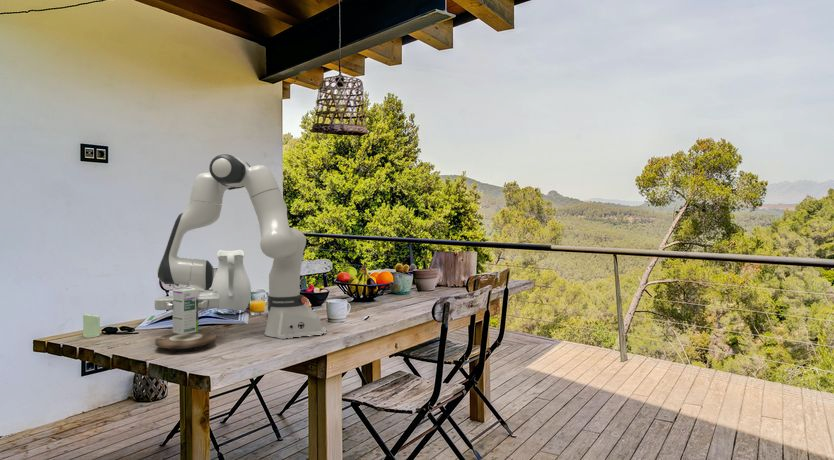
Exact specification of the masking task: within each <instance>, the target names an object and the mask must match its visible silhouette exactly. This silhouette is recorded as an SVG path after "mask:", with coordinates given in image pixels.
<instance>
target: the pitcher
mask: <svg viewBox="0 0 834 460" xmlns="http://www.w3.org/2000/svg"><path fill="white" fill-rule="evenodd" d="M216 256H217V259H218V267H217V270H216V272H215V273H214V276H213V283H212V286H211V288H210V290H217V293H218V294H219V296H220V307H219V308H217V309H233V310H242V311H245V312H246V310H247V308H248V306H249V304H250V301H251V297H252V287H251V282H250V278H249V276H248V274H247V271H246V269H245V265H244V257H245V252H244V251H243V250H242V249H235V250H224V249H219V250H218V251H217V253H216Z"/></svg>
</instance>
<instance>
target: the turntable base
mask: <svg viewBox="0 0 834 460" xmlns="http://www.w3.org/2000/svg"><path fill="white" fill-rule="evenodd" d="M203 346H204V345H201V346H196V347H188V348H168V350H170V351H173V352H188V351H189V352H190V351H194V350H199V349H201V348H202V347H203Z"/></svg>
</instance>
